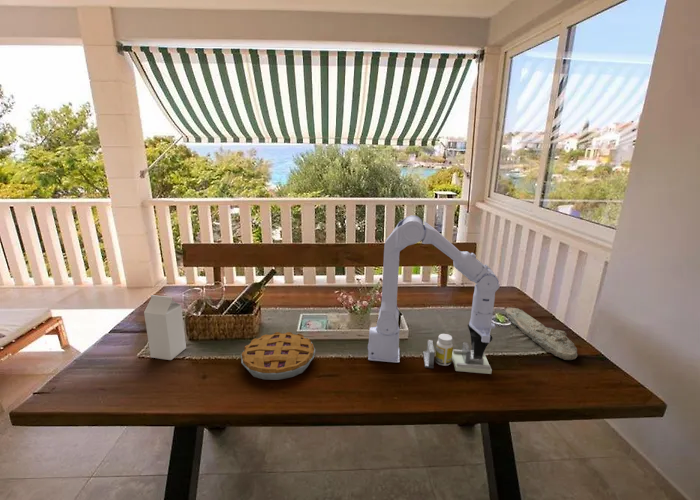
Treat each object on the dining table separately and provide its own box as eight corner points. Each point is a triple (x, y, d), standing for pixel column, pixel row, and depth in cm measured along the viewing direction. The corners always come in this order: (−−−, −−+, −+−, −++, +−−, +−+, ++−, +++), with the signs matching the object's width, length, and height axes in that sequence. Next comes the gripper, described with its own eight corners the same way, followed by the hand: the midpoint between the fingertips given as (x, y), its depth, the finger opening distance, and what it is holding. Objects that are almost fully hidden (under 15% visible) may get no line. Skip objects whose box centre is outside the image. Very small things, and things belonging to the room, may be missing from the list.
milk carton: (171, 360, 105) (163, 302, 100) (150, 357, 106) (141, 299, 101) (186, 348, 112) (179, 292, 107) (166, 345, 113) (159, 290, 108)
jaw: (425, 367, 104) (426, 352, 102) (423, 352, 111) (424, 338, 110) (433, 368, 103) (434, 353, 102) (430, 353, 111) (432, 339, 110)
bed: (455, 370, 102) (456, 364, 102) (451, 354, 110) (451, 348, 110) (491, 373, 101) (492, 367, 101) (484, 357, 109) (485, 351, 109)
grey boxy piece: (465, 364, 103) (467, 347, 101) (461, 353, 108) (463, 337, 107) (483, 365, 102) (485, 349, 101) (479, 355, 108) (481, 339, 106)
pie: (313, 340, 118) (313, 327, 117) (317, 381, 97) (317, 365, 96) (246, 344, 115) (245, 331, 113) (235, 387, 94) (234, 371, 93)
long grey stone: (520, 315, 142) (496, 318, 141) (520, 303, 141) (497, 305, 140) (587, 360, 108) (557, 364, 107) (589, 344, 107) (559, 348, 106)
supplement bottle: (449, 357, 109) (452, 333, 107) (452, 366, 104) (455, 341, 102) (434, 356, 109) (436, 332, 107) (436, 365, 105) (438, 340, 102)
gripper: (504, 322, 93) (497, 367, 97) (490, 300, 107) (485, 340, 111) (476, 320, 94) (471, 365, 98) (466, 299, 108) (462, 338, 112)
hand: (477, 351), depth 104 cm, fingers closed on grey boxy piece, 3 cm apart
